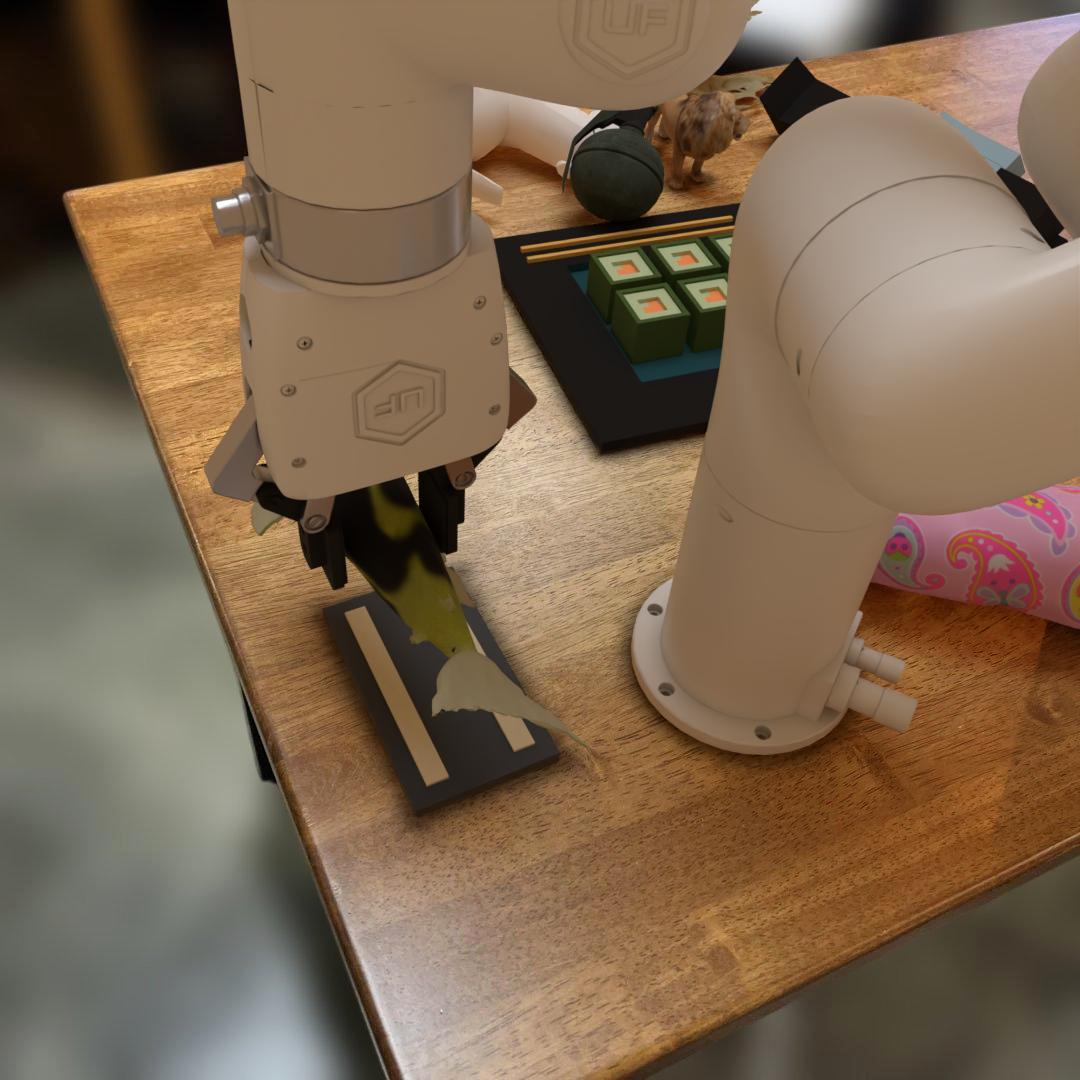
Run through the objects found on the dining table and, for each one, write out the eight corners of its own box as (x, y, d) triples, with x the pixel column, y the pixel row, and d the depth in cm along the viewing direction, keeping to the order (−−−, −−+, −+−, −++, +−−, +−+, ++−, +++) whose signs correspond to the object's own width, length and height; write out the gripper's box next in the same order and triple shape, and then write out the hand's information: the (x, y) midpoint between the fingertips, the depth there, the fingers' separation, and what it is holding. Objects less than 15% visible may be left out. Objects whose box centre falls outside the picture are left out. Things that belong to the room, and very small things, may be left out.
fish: (137, 432, 54) (283, 466, 63) (373, 846, 44) (509, 819, 52) (270, 259, 51) (406, 319, 59) (560, 665, 40) (674, 667, 49)
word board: (322, 616, 63) (321, 605, 62) (452, 574, 66) (452, 563, 65) (416, 819, 55) (415, 808, 54) (559, 761, 58) (561, 750, 57)
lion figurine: (743, 198, 97) (764, 99, 91) (692, 210, 96) (710, 110, 89) (656, 123, 106) (670, 27, 99) (608, 132, 104) (619, 35, 98)
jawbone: (748, 118, 106) (788, 90, 113) (754, 9, 100) (796, -14, 107) (602, 101, 113) (648, 76, 120) (600, -1, 107) (648, -22, 114)
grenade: (635, 247, 94) (668, 144, 96) (664, 208, 86) (700, 98, 88) (544, 209, 92) (580, 106, 94) (567, 167, 85) (605, 56, 87)
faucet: (468, 3, 97) (359, 78, 90) (662, 94, 92) (563, 182, 85) (465, 94, 105) (363, 171, 97) (643, 184, 100) (551, 272, 92)
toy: (817, 34, 100) (1089, 163, 82) (843, 92, 106) (1102, 224, 88) (738, 118, 101) (988, 264, 83) (768, 171, 107) (1008, 319, 89)
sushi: (759, 208, 96) (768, 169, 93) (919, 387, 80) (935, 345, 78) (483, 249, 89) (484, 208, 86) (600, 453, 74) (606, 410, 71)
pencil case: (773, 564, 62) (814, 405, 61) (765, 554, 71) (801, 416, 70) (1171, 664, 59) (1220, 498, 58) (1111, 640, 68) (1152, 497, 67)
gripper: (144, 314, 34) (229, 668, 47) (626, 211, 40) (580, 552, 53) (93, 193, 38) (184, 548, 52) (533, 117, 44) (512, 454, 58)
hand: (384, 547), depth 52 cm, fingers closed on fish, 4 cm apart
